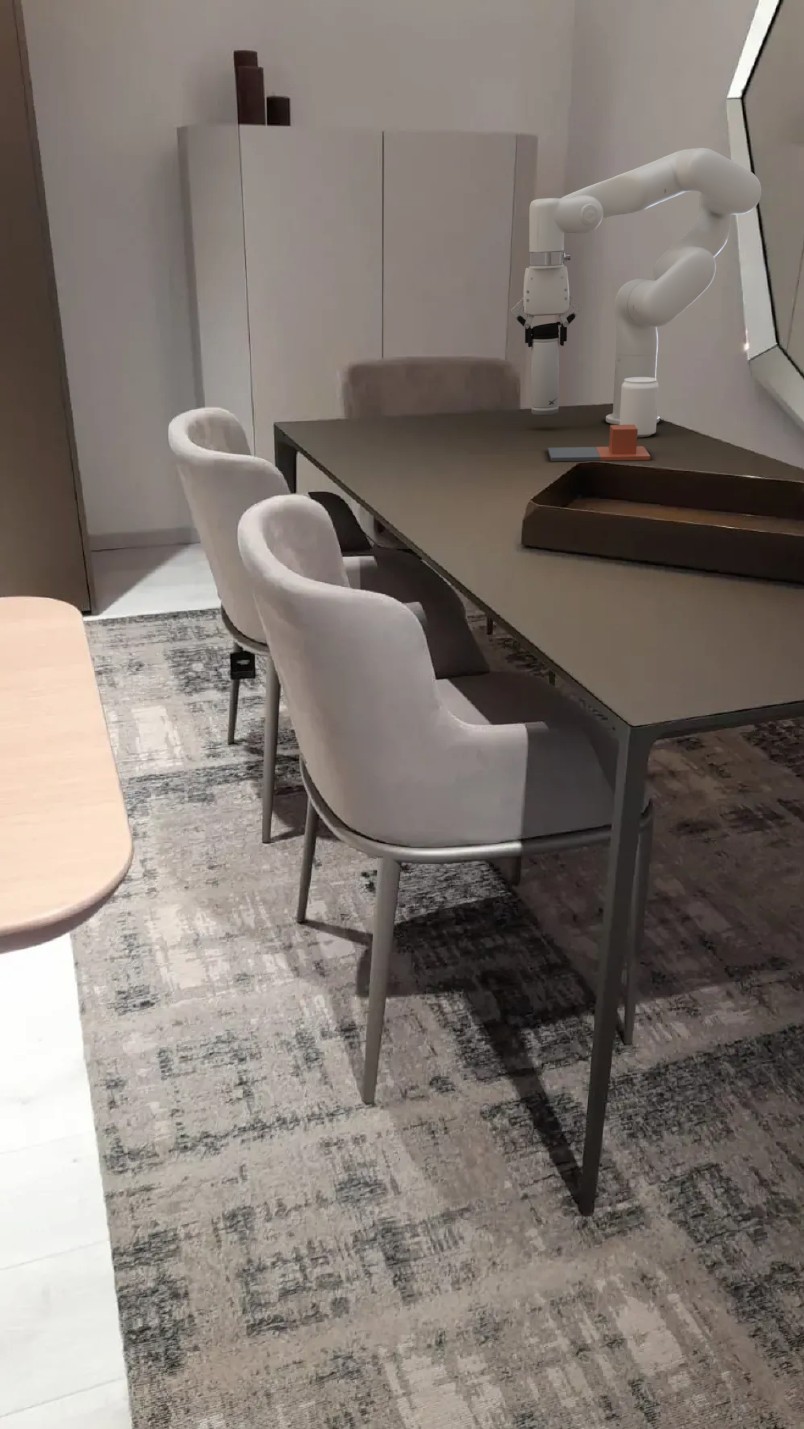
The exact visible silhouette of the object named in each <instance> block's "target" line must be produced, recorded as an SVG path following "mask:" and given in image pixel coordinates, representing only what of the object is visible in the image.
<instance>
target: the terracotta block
mask: <svg viewBox="0 0 804 1429" xmlns="http://www.w3.org/2000/svg"><path fill="white" fill-rule="evenodd" d="M637 433H638V429H637V428H636V426H635V425H616V424H610V425H609V440H608V441H609V442H608V443H609V444H608V447H609V450H610V452H611V454H636V449H637V446H638V437H637Z"/></svg>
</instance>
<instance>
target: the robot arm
mask: <svg viewBox="0 0 804 1429" xmlns="http://www.w3.org/2000/svg"><path fill="white" fill-rule="evenodd" d="M761 185H762V184H761V182H760V180H759V178H758V176H756V175H755V173H753V172H752V171H750V170H749V169H748V168H745V167H744V166H742V165H740V164H738V163H736V162H735V161H734V160H731V159H730V158H728V157H726V156H724V155H722V154H721V153H719V152H717V151H715V150H713V149H712V148H711V149H710V148H707V147H694V148H686V149H680V150H677V151H674V152H672V153H670V154H667V155H665V156H663V157H660V158H657V159H656V160H655V159H654V161H651V162H649V163H646V164H643V165H641V166H638V167H636V168H634V169H632V170H628V171H625V172H622V173H620V174H618V175H615V176H613V177H610V178H607V179H605V180H602V181H599V182H596V183H594V184H591V185H588V186H585V187H583V188H580V189H578V190H576V191H573V192H571V193H569V194H566V195H563V196H562V197H561V198H560V197H559V198H558V197H548V198H545V197H544V198H536V199H533V200H532V201H531V202H530V204H529V208H528V213H529V214H528V216H529V219H528V223H529V224H528V226H529V229H528V231H529V232H528V234H529V236H528V238H529V239H528V243H529V244H528V248H529V250H528V251H529V252H528V253H529V254H528V267H526V268H525V271H524V275H523V276H524V277H523V286H522V287H523V288H522V298H520V300H519V301H518V302H517V303H516V304H515V305H514V306H513V307H512V308H511V309H510V314H511V315H512V316H513V317H514V318H515V319H516V321H517V322H518V323H519V324H520V325H521V326H522V327H523V328H524V343H525V344H527V347H528V348H531V347H532V326H531V324H532V322H533V320H534V317H538V316H542V317H543V316H558V317H559V320H560V322H561V325H560V326H559V346H561V347H564V346H565V342H567V341H568V326H569V325H570V324H571V323H572V322H573V321H574V320H575V318H577V316H578V315H579V314H580V313H581V312H582V310H583V307H582V305H580V304H579V303H578V302H577V301H576V300H574V298H573V297H571V295H570V282H569V271H568V266H567V265H565V263H566V262H568V261H571V253H566V252H565V234H581V235H582V234H588V233H591V232H593V231H595V230H597V228H598V227H599V226H600V225H601V223H602V221H603V219H606V218H609V217H613V216H614V217H615V216H620V215H627V214H634V213H636V212H637V213H638V212H641V211H644V210H647V209H649V208H652V207H654V206H656V205H657V204H660V203H662V202H665V201H667V200H670V199H673V198H675V197H677V196H678V197H679V196H680V195H683V194H685V193H688V192H689V193H690V192H699V202H698V215H697V218H696V220H695V222H694V223H693V225H692V226H691V227H690V228H689V229H688V230H687V231H686V232H685V233H684V234H683V235H682V236H681V237H680V238H678V240H676V241H675V242H674V243H673V244H672V245H671V246H670V247H669V248H668V249H666V250H665V251H664V252H663V253H662V254H661V255H660V256H659V257H658V259H657V261H656V262H655V264H654V268H653V278H654V280H653V279H648V278H647V279H646V278H634V279H631V280H629V281H627V282H625V283H624V284H622V285H621V287H620V288H619V290H618V291H617V293H616V296H615V299H614V317H615V328H616V329H615V330H616V344H615V359H614V360H615V361H614V379H613V380H614V382H613V398H612V399H613V401H612V413H609V414H606V416H605V422H606V423H607V424H610V425H619V424H620V406H621V388H622V384H623V383H624V379H626V378H632V377H649V378H655V379H657V364H658V354H659V353H658V352H659V333H658V327H664V326H666V325H668V324H669V323H671V322H673V321H674V320H675V319H676V318H678V316H679V315H681V314H682V313H683V312H684V311H685V310H686V309H687V308H689V307H690V305H692V304H693V303H694V302H695V301H697V299H698V298H699V297H700V296H701V295H703V293H705V292H706V290H708V288H709V287H710V285H711V284H712V282H713V281H714V278H715V275H716V270H717V263H716V259H715V258H716V257H717V255H718V254H720V252H721V251H722V250H723V249H724V248H725V246H726V245H727V242H728V240H729V237H730V230H731V224H732V216H733V215H734V216H736V215H737V216H738V215H739V216H740V215H745V214H747V213H750V212H751V211H753V210H754V209H755V208H756V207H757V205H758V204H759V202H760V201H761V197H762V186H761ZM570 306H571V307H572V308H573V310H572V312H570V313H569V314H568V316H566V315H565V314H567V313H568V312H569V310H570ZM521 309H522V310H523V313H524V314H525V315H526V317H523V316H522V315H521V314H520V310H521ZM660 418H661V417H660V416H659V415H658V414H657V422H656V424H658V423H659V422H660Z"/></svg>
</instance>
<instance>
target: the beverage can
mask: <svg viewBox="0 0 804 1429" xmlns="http://www.w3.org/2000/svg"><path fill="white" fill-rule="evenodd" d="M659 391H660V384H659V383H658V378H656V379H655V378H649V377H632V378H626V379H624V383H623V384H622V388H621V406H620V424H619V425H635V426H636V428H637V429H638V433H637V438H645V437H646V438H647V437H650V436H652V435H654V434H656V432H657V423H656V422H657V415H658V408H659V407H658V405H659V394H660V393H659Z"/></svg>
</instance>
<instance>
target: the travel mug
mask: <svg viewBox="0 0 804 1429" xmlns="http://www.w3.org/2000/svg"><path fill="white" fill-rule="evenodd" d="M561 323H562V322H561V321H556V322H549V323H543V324H538V325H534V326H532V327H531V329H532V347H530V352H531V353H530V355H531V356H530V357H531V358H530V360H531V361H530V362H531V363H530V365H531V366H530V367H531V368H530V370H531V371H530V375H531V378H530V379H531V380H530V381H531V382H530V384H531V385H530V386H531V387H530V388H531V389H530V390H531V391H530V392H531V394H530V395H531V396H530V398H531V399H530V400H531V401H530V402H531V404H530V405H531V406H530V407H531V410H530V411H531V412H530V413H531V415H532V416H533V415H534V416H538V417H539V416H540V417H543V416H544V417H548V416H554V415H557V414H558V413H559V411H560V410H559V403H560V402H559V401H560V400H559V399H560V397H559V396H560V395H559V394H560V327H561Z"/></svg>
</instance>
